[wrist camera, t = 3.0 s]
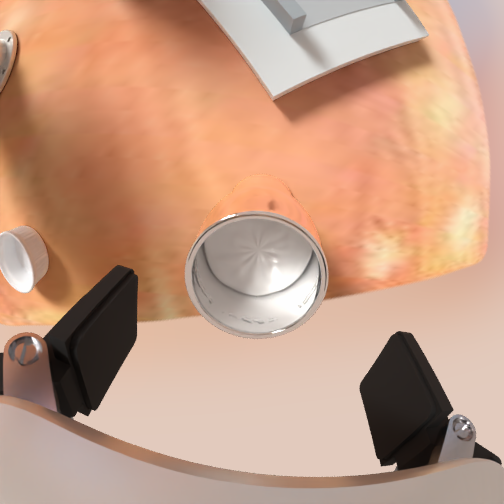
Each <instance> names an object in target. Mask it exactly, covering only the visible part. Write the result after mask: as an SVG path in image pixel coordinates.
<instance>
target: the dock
mask: <svg viewBox="0 0 504 504" xmlns="http://www.w3.org/2000/svg"><path fill="white" fill-rule="evenodd" d="M197 1H198V2H199V3H200V4H201V6H202V7H203V8H204V9H205V10H206V11H207V13H208V14H209V15H210V16H211V17H212V19H213V20H214V21H215V22H216V23H217V25H218V26H219V27H220V28H221V30H222V31H223V32H224V33H225V35H226V36H227V37H228V39H229V40H230V41H231V42H232V44H233V45H234V46H235V48H236V49H237V50H238V52H239V53H240V54H241V56H242V57H243V59H244V60H245V61H246V63H247V64H248V65H249V67H250V68H251V70H252V71H253V73H254V74H255V75H256V77H257V78H258V80H259V81H260V83H261V84H262V86H263V87H264V89H265V90H266V91H267V93H268V94H269V96H270V98H271V99H272V101H273V100H275V99H277V98H279V97H281V96H283V95H285V94H287V93H289V92H291V91H293V90H295V89H297V88H299V87H301V86H303V85H305V84H307V83H309V82H311V81H313V80H316V79H318V78H320V77H322V76H324V75H327V74H329V73H331V72H333V71H336V70H338V69H340V68H343V67H345V66H348V65H350V64H353V63H355V62H358V61H360V60H363V59H365V58H368V57H371V56H374V55H376V54H379V53H382V52H385V51H388V50H391V49H394V48H397V47H400V46H403V45H406V44H410V43H413V42H417V41H419V40H421V39H423V38H425V37H427V36H429V34H428V32H427V31H426V29H425V28H424V26H423V25H422V23H421V22H420V20H419V19H418V17H417V16H416V14H415V13H414V12H413V10H412V9H411V7H410V6H409V5H408V3H407V2H406V1H405V0H197Z"/></svg>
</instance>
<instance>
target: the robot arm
mask: <svg viewBox="0 0 504 504" xmlns="http://www.w3.org/2000/svg"><path fill="white" fill-rule="evenodd" d="M16 50H17V38H16V34H15V33H14V32H13V31H11V30H3V31H1V32H0V92H1V91H2V89H3V87H4V85H5V84H6V82H7V79H8V77H9V75H10V72H11V69H12V67H13V63H14V60H15V56H16ZM137 291H138V276H137V275H135V274H134V271H133V269H130V268H127V267H123V266H120V265H117V266H116V267H114V268H113V269H112V270H111V271H110V272H109V273H108V274H107V275H106V276H105V277H104V278H103V279H102V280H101V281H100V282H98V283H97V284H96V285H95V286H94V287H93V288H92V289H91V290H90V291H89V292H88V293H87V294H86V295H85V296H83V297H82V298H81V299H80V300H79V301H78V302H77V303H76V304H75V305H74V306H73V307H72V308H71V309H70V310H69V311H68V312H67V313H66V314H65V315H64V316H63V317H62V319H61V320H60V321H59V322H58V323H57V324H56V325H55V326H54V327H53V328H52V329H51V330H50V331H49V333H48V334H47V335H46V336H45V337H44V338H42V337H40V336H39V335H37V334H34V333H27V332H25V333H20V334H17V335H15V336H13V337H12V338H11V339H10V340H8V342H7V343H6V345H5V348H4V353H0V504H504V468H503V467H502V466H501V464H502V463H501V460H500V458H499V457H497V456H496V455H495V454H493V453H492V452H490V451H489V450H487V449H485V448H484V447H482V446H481V445H479V444H478V443H476V442H475V439H476V431H475V427H474V425H473V424H472V422H471V421H470V420H469V419H468V418H466V417H465V416H463V415H454V416H453V417H451V418H450V419H448V417H447V416H448V415H449V414H450V413H451V412H452V411H453V408H452V406H451V404H450V402H449V400H448V398H447V396H446V394H445V392H444V390H443V388H442V386H441V384H440V382H439V380H438V379H437V377H436V375H435V373H434V371H433V369H432V368H431V366H430V364H429V363H428V360H427V358H426V357H425V355H424V353H423V352H422V350H421V348H420V346H419V345H418V343H417V341H416V340H415V338H414V336H413V335H412V334H411V333H407V332H401V331H398V332H396V333H395V334H394V335H392V336H391V337H390V339H389V340H388V342H387V344H386V345H385V347H384V349H383V350H382V352H381V353H380V355H379V357H378V358H377V359H376V361H375V363H374V364H373V366H372V367H371V368H370V370H369V372H368V373H367V374H366V376H365V377H364V379H363V380H362V382H361V384H360V393H361V397H362V400H363V404H364V408H365V411H366V415H367V419H368V423H369V427H370V431H371V435H372V439H373V444H374V448H375V452H376V456H377V458H378V459H380V464H381V466H388V465H393V464H394V463H397V467H396V469H395V471H393V472H386V473H379V474H370V475H358V476H343V477H292V476H276V475H265V474H255V473H248V472H241V471H234V470H228V469H221V468H216V467H212V466H207V465H202V464H198V463H193V462H189V461H185V460H181V459H177V458H174V457H170V456H167V455H163V454H160V453H156V452H153V451H150V450H148V449H145V448H142V447H139V446H136V445H133V444H130V443H127V442H124V441H122V440H119V439H117V438H114V437H111V436H109V435H107V434H104V433H102V432H100V431H97V430H95V429H93V428H91V427H88V426H86V425H84V424H82V423H79V422H77V421H75V420H73V417H74V416H75V415H76V413H77V411H78V412H80V413H82V414H84V415H86V416H89V414H90V412H91V410H94V411H95V410H96V409H97V408H98V407H99V405H100V403H101V401H102V399H103V398H104V396H105V394H106V392H107V390H108V389H109V386H110V385H111V383H112V381H113V380H114V378H115V376H116V374H117V372H118V370H119V369H120V367H121V366H122V364H123V362H124V360H125V359H126V357H127V355H128V354H129V352H130V350H131V348H132V347H133V345H134V343H135V341H136V337H137Z"/></svg>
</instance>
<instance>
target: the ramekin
mask: <svg viewBox="0 0 504 504" xmlns="http://www.w3.org/2000/svg"><path fill="white" fill-rule="evenodd" d="M48 265H49V258H48V253H47V249H46V246H45V244H44V242H43V240H42V238H41V237H40V235H39V234H38V233H37V232H36V231H35V230H34V229H33V228H31V227H29V226H19V227H17V228H14V229H12V230H9V231H4V232H2V233H1V234H0V269H1V271H2V273H3V275H4V277H5V278H6V280H7V281H8V282H9V284H10V285H11V286H12V287H13V288H15V289H16V290H17V291H19V292H22V293H29V292H30V291H31V290H32V289H33V288H34V286H35V285H36V284H37V282H38V281H39V280H40V279H41V278H42V277H43V276H44V275H45V274H46V272H47V270H48Z"/></svg>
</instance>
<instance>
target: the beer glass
mask: <svg viewBox="0 0 504 504" xmlns="http://www.w3.org/2000/svg"><path fill="white" fill-rule="evenodd" d="M328 277H329V274H328V265H327V260H326V257H325V254H324V252H323V249H322V245H321V242H320V238H319V235H318V232H317V230H316V228H315V225H314V223H313V221H312V219H311V217H310V216H309V214H308V213H307V211H306V210H305V209H304V207H303V206H302V205H301V204H300V203H299V202H298V201H297V200H296V199H295V198H294V197H292V194H291V192H290V190H289V188H288V187H287V186H286V185H285V184H284V183H283V182H282V181H281V180H279V179H278V178H276V177H274V176H271V175H267V174H255V175H251V176H249V177H246V178H245V179H243V180H242V181H240V182H239V183H238V184H237V185H236V186H235V188H234V189H233V191H232V192H231V193H230V194H228V195H227V196H225V197H224V198H223V199H221V200H220V201H219V202H218V203H217V204H216V205H215V207H214V208H213V209H212V210H211V211H210V212H209V214H208V215H207V217H206V219H205V220H204V222H203V224H202V225H201V227H200V229H199V232H198V234H197V236H196V238H195V241H194V243H193V244H192V246H191V248H190V250H189V253H188V255H187V259H186V263H185V284H186V288H187V292H188V295H189V297H190V299H191V301H192V303H193V305H194V306H195V308H196V309H197V310H198V312H199V313H200V314H201V315H202V316H203V317H204V318H205V319H206V320H207V321H208V322H210V323H211V324H212V325H214V326H215V327H217V328H219V329H220V330H222V331H224V332H227V333H229V334H232V335H236V336H239V337H244V338H253V339H262V338H271V337H276V336H280V335H283V334H286V333H288V332H291V331H293V330H295V329H296V328H298V327H300V326H301V325H303V324H304V323H305V322H306V321H308V320H309V319H310V318H311V317H312V316H313V315H314V313H315V312H316V311H317V310H318V308H319V307H320V305H321V303H322V301H323V299H324V297H325V294H326V291H327V286H328Z"/></svg>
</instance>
